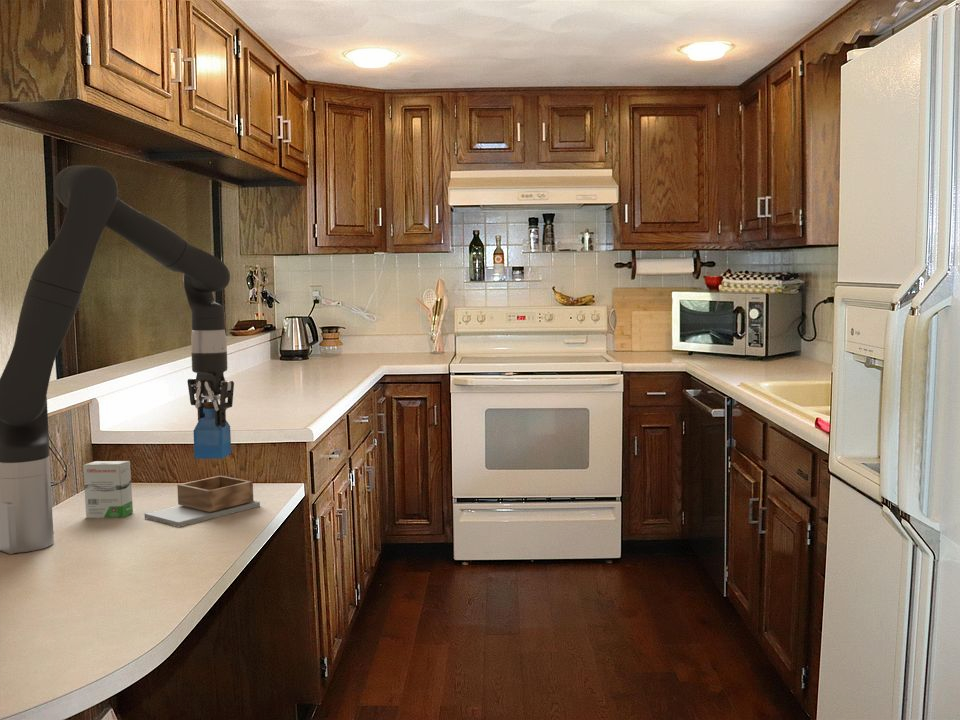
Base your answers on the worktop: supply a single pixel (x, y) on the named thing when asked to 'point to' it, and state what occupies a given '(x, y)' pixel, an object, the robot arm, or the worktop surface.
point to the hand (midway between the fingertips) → (211, 425)
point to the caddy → (215, 493)
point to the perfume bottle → (211, 436)
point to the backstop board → (194, 513)
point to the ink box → (108, 489)
